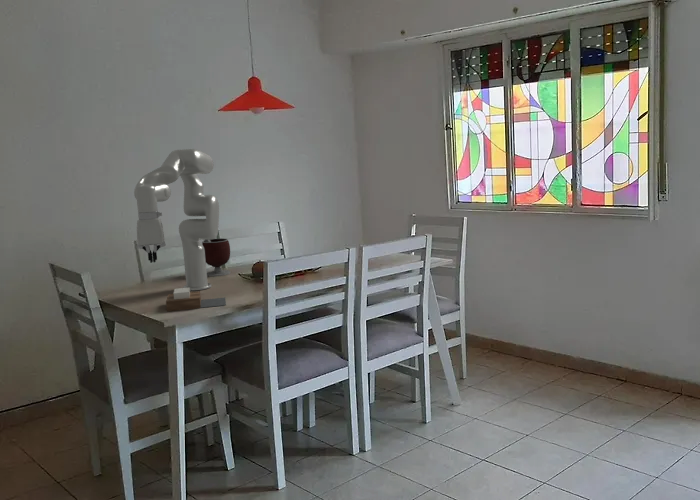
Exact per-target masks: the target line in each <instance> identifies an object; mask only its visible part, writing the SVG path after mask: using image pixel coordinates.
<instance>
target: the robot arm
mask: <svg viewBox="0 0 700 500" xmlns="http://www.w3.org/2000/svg"><path fill="white" fill-rule="evenodd" d="M213 169H214V160H213V158H212V157H211V155H209V154H207V153H205V152H203V151H202V150H199V149H196V148H188V149H187V148H186V149H185V148H183V149H175V150H172V151H171V152H170V153H169V154H168V155H167V157H166V159H165V160H164V161H163V162H162V164H161V165H160V166H159V167H157V168H155V169H154V170H151V171H150V172H148V173H146V174H144V175H143V176H142V177H141V178H140V179H139V181H138V182H137V183H136V185H135V187H134V191H133V194H134V195H133V196H134V198H135V200H136V207H137V215H138V217H137V218H138V220H137V221H136V238H137V239H136V240H137V242H136V243H137V247H136V248H137V249H140V250H143V251H145V252H146V253H147V257H148V261H149V262H150V263H156V262H157V260H158V256H157V255H158V254H157V252H158V250H159V249H160V248H161V249H162V248H163V247H165V246H166V242H165V233H164V232H165V231H164V228H163V223H162V219H161V218H160V217H162V216H163V214H162V212H160V211H158V210H159V209H158V203H163V202H166V201H168V200H169V199H170V197H171V195H172V191H171V188H170V186H169V184H173V183H175V182H176V181H177V180H178V179H179V178H181V181H182V183H183V186H184V187H183V189H184V192H183V212H184V215H186V216H187V217H206V218H187V219H183V220H182V221H181V222H180V223H179V225H178V233H179V237H180V241H181V245H182V251H183V262H184V265H183V266H184V272H185V283H186V284H185V285H183V286H182V288H189V287H190V292H195V291H201V290H202V291H203V290H207V289H210V288H212V283H210V282H208V281H209V280H208V276H207V273H208V271H207V263H206V259H205V249H204V247H203V245H202V242H201V241H204V240H212V239H217V236H218V233H219V226H220V225H219V221H220V220H219V219H220V202H219V200H218V197H216V196H215V195H213V194H204V183H203V181H202V180H201V178H199V176H198V175H207V174H210V173H211V172H212V171H213ZM150 246H153V250H151V248H150Z"/></svg>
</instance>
